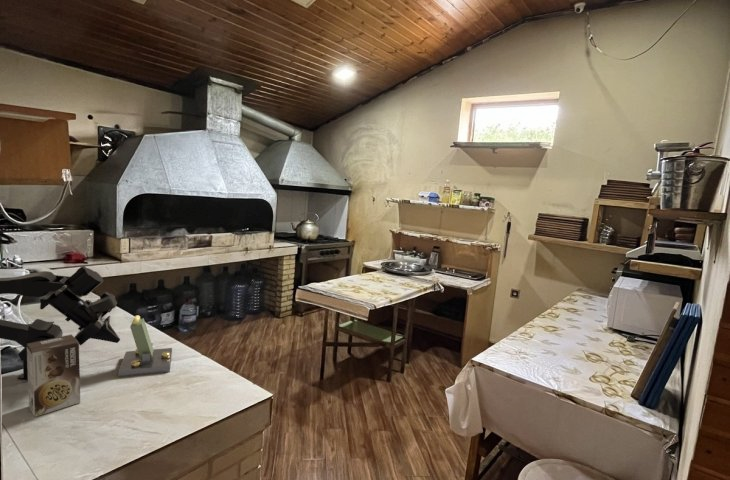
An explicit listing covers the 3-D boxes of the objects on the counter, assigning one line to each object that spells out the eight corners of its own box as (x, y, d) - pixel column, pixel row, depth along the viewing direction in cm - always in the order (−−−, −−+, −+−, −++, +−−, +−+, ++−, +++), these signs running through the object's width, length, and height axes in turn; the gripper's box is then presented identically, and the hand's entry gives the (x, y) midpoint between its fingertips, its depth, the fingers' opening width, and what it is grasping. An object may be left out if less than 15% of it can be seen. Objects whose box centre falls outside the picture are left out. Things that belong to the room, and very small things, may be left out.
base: (118, 377, 110) (118, 359, 109) (126, 357, 121) (126, 341, 121) (169, 372, 115) (170, 355, 114) (172, 353, 127) (172, 338, 126)
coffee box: (73, 393, 100) (72, 333, 98) (81, 403, 96) (80, 341, 94) (27, 406, 93) (25, 342, 91) (33, 417, 89) (32, 351, 87)
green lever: (141, 362, 115) (128, 322, 112) (143, 355, 120) (131, 316, 117) (152, 359, 116) (140, 319, 113) (154, 351, 121) (142, 313, 118)
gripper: (89, 296, 101) (136, 333, 107) (104, 278, 118) (144, 311, 124) (52, 326, 99) (103, 362, 105) (73, 304, 116) (115, 337, 122)
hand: (118, 341), depth 114 cm, fingers closed
